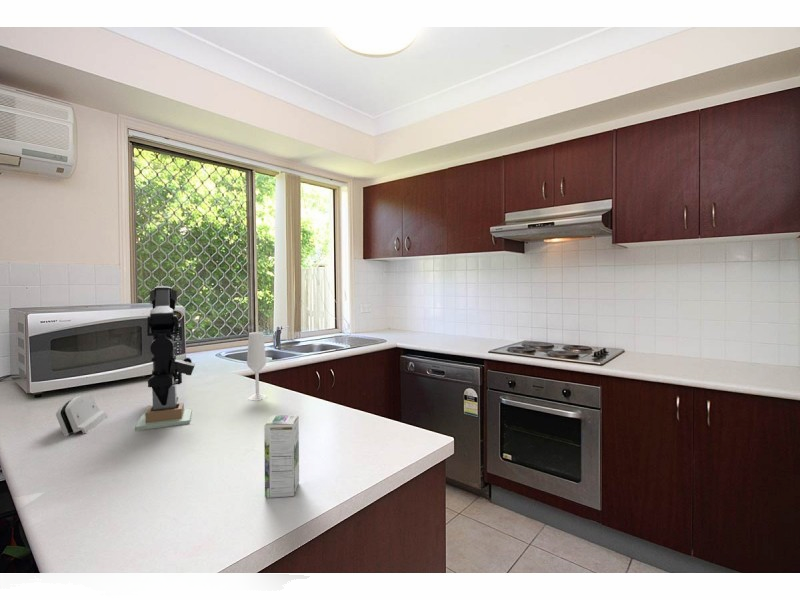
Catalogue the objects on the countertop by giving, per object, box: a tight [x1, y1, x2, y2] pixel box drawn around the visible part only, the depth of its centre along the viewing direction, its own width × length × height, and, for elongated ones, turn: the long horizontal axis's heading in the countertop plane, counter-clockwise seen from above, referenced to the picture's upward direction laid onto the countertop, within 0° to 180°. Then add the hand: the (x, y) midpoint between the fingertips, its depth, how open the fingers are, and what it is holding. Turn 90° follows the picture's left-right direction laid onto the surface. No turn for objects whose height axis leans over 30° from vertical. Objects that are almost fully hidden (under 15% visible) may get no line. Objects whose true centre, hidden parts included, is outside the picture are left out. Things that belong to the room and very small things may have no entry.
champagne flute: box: [246, 331, 267, 401], centre depth 152 cm, size 7×7×24 cm
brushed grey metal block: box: [151, 383, 178, 411], centre depth 127 cm, size 4×6×8 cm, turn 113°
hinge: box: [55, 394, 108, 437], centre depth 123 cm, size 17×5×10 cm, turn 17°
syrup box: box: [263, 414, 300, 499], centre depth 83 cm, size 6×6×14 cm
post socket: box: [134, 402, 193, 431], centre depth 127 cm, size 13×14×4 cm
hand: (165, 403), depth 127 cm, fingers closed on brushed grey metal block, 4 cm apart
